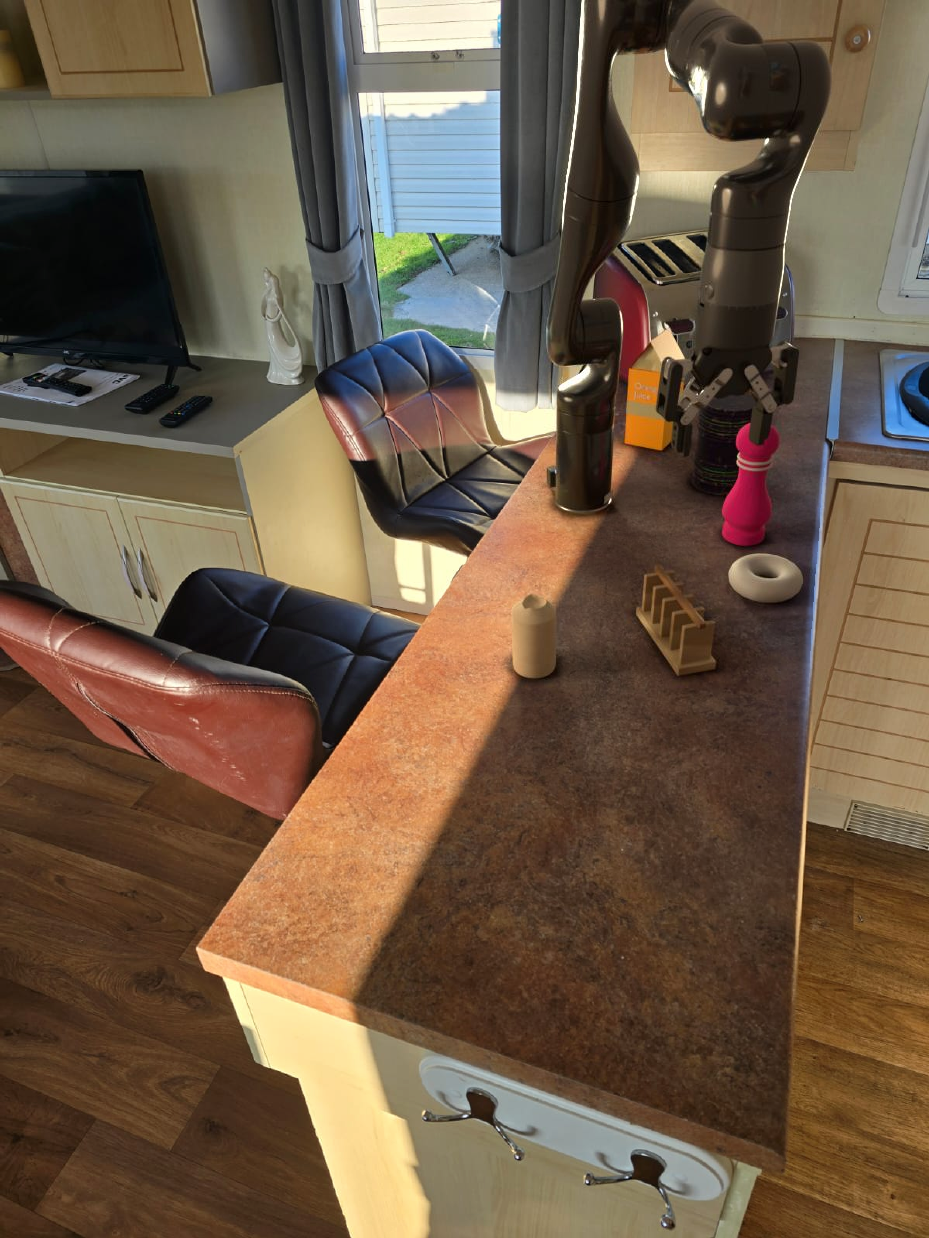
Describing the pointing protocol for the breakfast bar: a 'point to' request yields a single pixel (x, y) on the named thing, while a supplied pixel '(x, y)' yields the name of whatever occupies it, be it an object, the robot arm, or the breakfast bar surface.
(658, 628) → the toast rack
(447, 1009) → the breakfast bar surface
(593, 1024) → the breakfast bar surface
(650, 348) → the orange juice
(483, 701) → the breakfast bar surface
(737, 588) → the donut
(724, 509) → the pepper mill
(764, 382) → the robot arm
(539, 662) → the candle
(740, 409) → the storage jar
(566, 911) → the breakfast bar surface
